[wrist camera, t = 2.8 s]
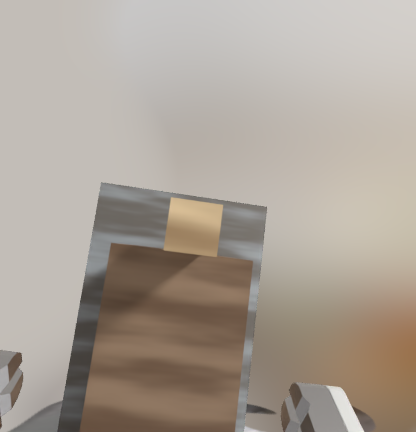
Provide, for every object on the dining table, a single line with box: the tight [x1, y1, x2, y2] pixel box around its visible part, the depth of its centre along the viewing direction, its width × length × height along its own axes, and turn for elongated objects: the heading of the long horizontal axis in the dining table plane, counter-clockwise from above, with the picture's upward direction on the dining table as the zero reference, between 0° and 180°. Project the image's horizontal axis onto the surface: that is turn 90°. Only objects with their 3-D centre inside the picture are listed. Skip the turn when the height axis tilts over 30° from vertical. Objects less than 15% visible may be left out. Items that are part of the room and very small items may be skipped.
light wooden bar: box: [163, 197, 223, 257], centre depth 25 cm, size 16×4×4 cm, turn 7°
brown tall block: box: [57, 183, 267, 432], centre depth 33 cm, size 19×24×34 cm
